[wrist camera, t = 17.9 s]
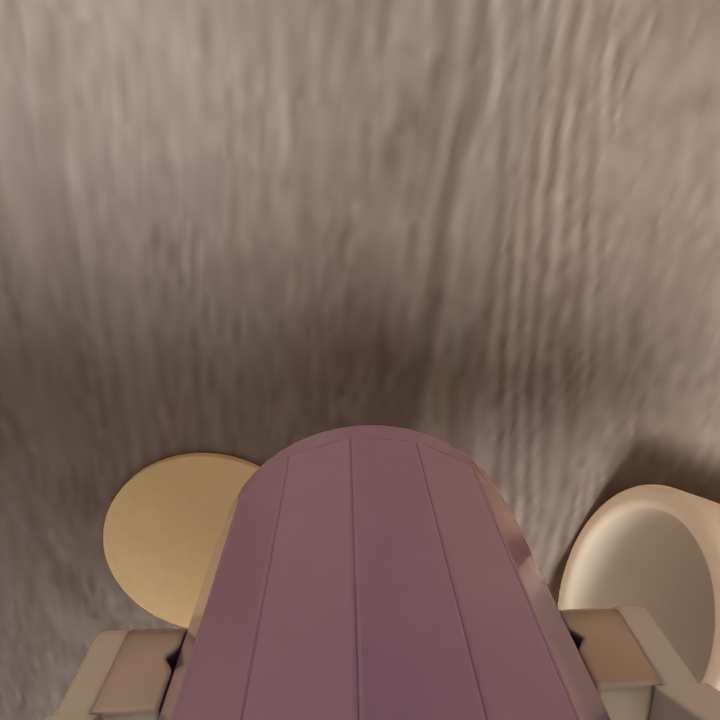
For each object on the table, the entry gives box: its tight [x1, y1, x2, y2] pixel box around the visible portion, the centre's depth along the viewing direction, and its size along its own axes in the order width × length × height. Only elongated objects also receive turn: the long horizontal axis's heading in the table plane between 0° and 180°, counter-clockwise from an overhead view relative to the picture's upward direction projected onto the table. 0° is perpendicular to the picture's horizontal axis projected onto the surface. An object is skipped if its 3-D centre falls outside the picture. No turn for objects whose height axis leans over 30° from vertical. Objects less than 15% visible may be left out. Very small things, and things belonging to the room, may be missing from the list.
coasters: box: [103, 453, 260, 628], centre depth 24 cm, size 12×21×1 cm, turn 179°
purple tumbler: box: [158, 425, 611, 720], centre depth 9 cm, size 6×6×7 cm
